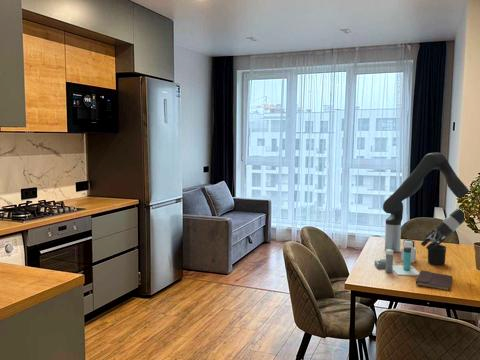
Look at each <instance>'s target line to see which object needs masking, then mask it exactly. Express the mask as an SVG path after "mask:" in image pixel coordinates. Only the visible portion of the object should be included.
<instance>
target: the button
mask: <svg viewBox="0 0 480 360" xmlns="http://www.w3.org/2000/svg"><path fill="white" fill-rule="evenodd" d="M379 261H380V263H385V261H386V258H383V257H381V258H379Z"/></svg>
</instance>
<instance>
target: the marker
mask: <svg viewBox="0 0 480 360" xmlns="http://www.w3.org/2000/svg"><path fill="white" fill-rule="evenodd" d="M402 262H403V264H402V266H403V270H405V271H410V267H411V266H412V265H411V264H412V263H411V248H410V247H404V259H403V261H402Z"/></svg>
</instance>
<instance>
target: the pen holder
mask: <svg viewBox="0 0 480 360" xmlns="http://www.w3.org/2000/svg"><path fill="white" fill-rule="evenodd" d="M446 252H447V245H446V246H445V245H442V244H439V245H438V246H437V245H436V246H434V247H433V248H432V249H431V250H428V249H427V264H429V265H433V266H444V265H445V264H446V255H447V254H446Z"/></svg>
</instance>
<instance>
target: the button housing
mask: <svg viewBox="0 0 480 360" xmlns="http://www.w3.org/2000/svg"><path fill="white" fill-rule="evenodd" d="M374 266H375V268H376V269H381V270H382V269H384V270H385V269H386V261H385V263H380V260H374Z"/></svg>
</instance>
